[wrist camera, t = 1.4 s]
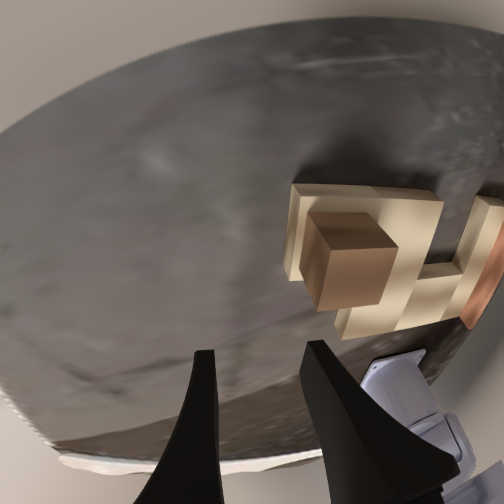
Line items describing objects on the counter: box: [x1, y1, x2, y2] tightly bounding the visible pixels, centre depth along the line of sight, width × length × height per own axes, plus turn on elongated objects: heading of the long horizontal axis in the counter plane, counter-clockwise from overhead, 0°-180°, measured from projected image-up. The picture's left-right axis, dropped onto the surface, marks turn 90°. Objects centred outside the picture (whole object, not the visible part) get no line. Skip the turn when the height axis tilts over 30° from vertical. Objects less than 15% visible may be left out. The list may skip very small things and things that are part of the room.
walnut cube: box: [299, 212, 399, 312], centre depth 17 cm, size 4×4×4 cm
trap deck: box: [283, 184, 504, 340], centre depth 22 cm, size 13×21×4 cm, turn 87°
